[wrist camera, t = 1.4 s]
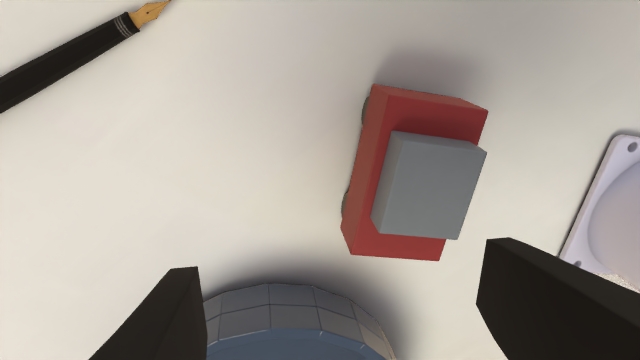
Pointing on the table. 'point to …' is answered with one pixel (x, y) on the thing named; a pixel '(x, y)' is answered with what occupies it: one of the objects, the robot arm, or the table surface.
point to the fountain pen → (72, 55)
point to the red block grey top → (412, 173)
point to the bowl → (291, 326)
